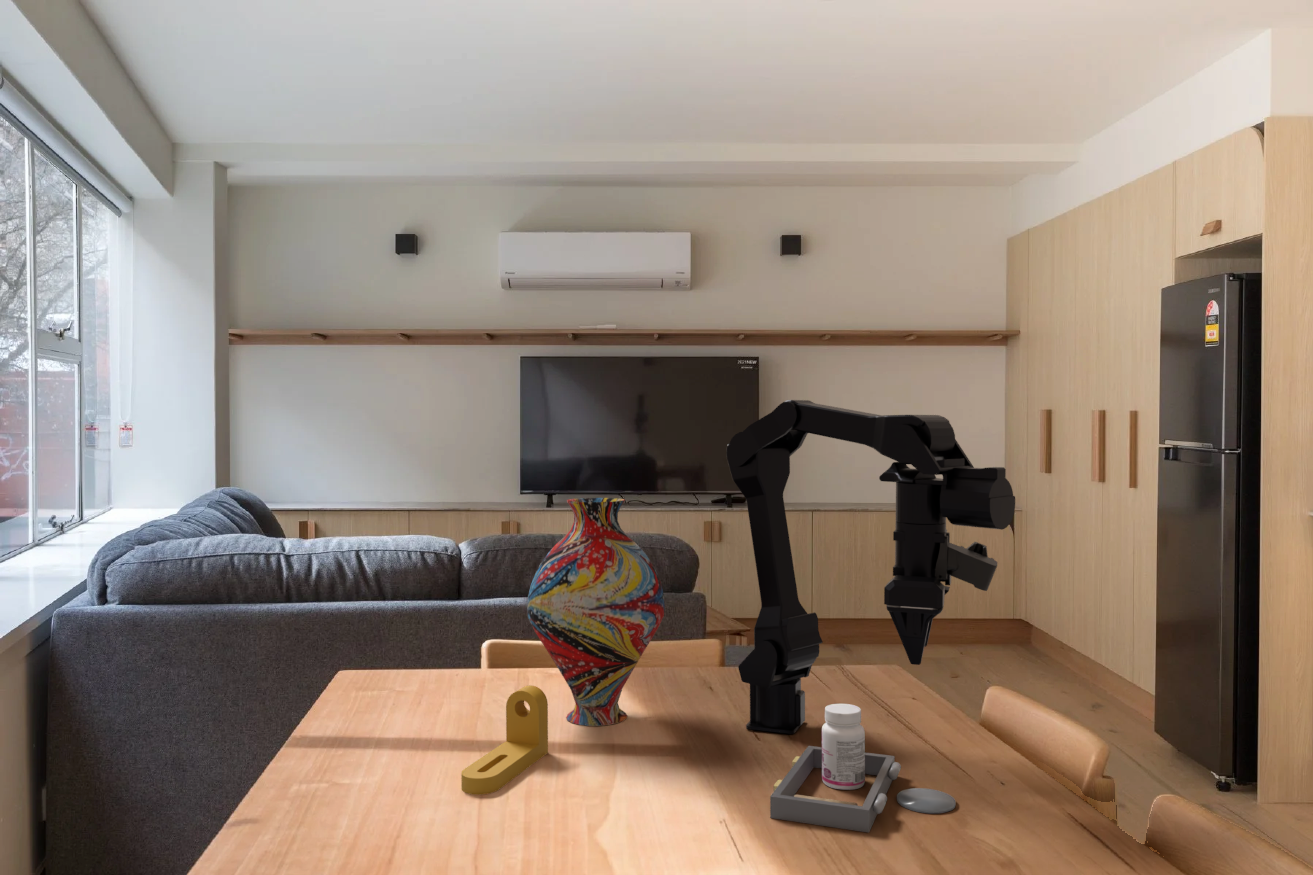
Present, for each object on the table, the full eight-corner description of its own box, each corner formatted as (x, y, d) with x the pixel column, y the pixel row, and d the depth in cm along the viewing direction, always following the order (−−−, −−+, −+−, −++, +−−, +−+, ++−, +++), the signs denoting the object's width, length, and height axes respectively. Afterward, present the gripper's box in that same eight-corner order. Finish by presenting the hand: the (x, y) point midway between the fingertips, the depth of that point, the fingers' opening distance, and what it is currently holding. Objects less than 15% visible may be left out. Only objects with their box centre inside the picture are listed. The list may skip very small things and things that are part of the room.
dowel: (794, 815, 102) (791, 805, 101) (797, 800, 103) (795, 790, 102) (855, 825, 100) (853, 814, 99) (858, 809, 101) (856, 799, 100)
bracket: (515, 750, 122) (515, 683, 122) (548, 753, 120) (547, 686, 120) (454, 793, 108) (453, 718, 108) (489, 798, 106) (489, 722, 106)
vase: (501, 729, 130) (500, 503, 129) (567, 692, 147) (566, 493, 147) (632, 745, 123) (631, 507, 122) (684, 705, 140) (684, 496, 140)
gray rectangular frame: (764, 816, 100) (764, 795, 100) (803, 763, 116) (803, 744, 116) (879, 833, 96) (879, 811, 96) (903, 776, 112) (903, 756, 112)
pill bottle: (817, 776, 112) (816, 702, 112) (857, 774, 112) (857, 701, 112) (827, 791, 107) (827, 714, 107) (870, 790, 108) (870, 713, 107)
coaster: (893, 808, 102) (893, 804, 102) (901, 788, 108) (901, 785, 108) (952, 816, 100) (952, 812, 100) (957, 796, 106) (957, 792, 106)
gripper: (992, 534, 103) (990, 681, 103) (994, 517, 120) (992, 643, 121) (884, 529, 106) (882, 672, 107) (901, 513, 124) (900, 636, 124)
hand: (919, 654), depth 115 cm, fingers open, 9 cm apart
